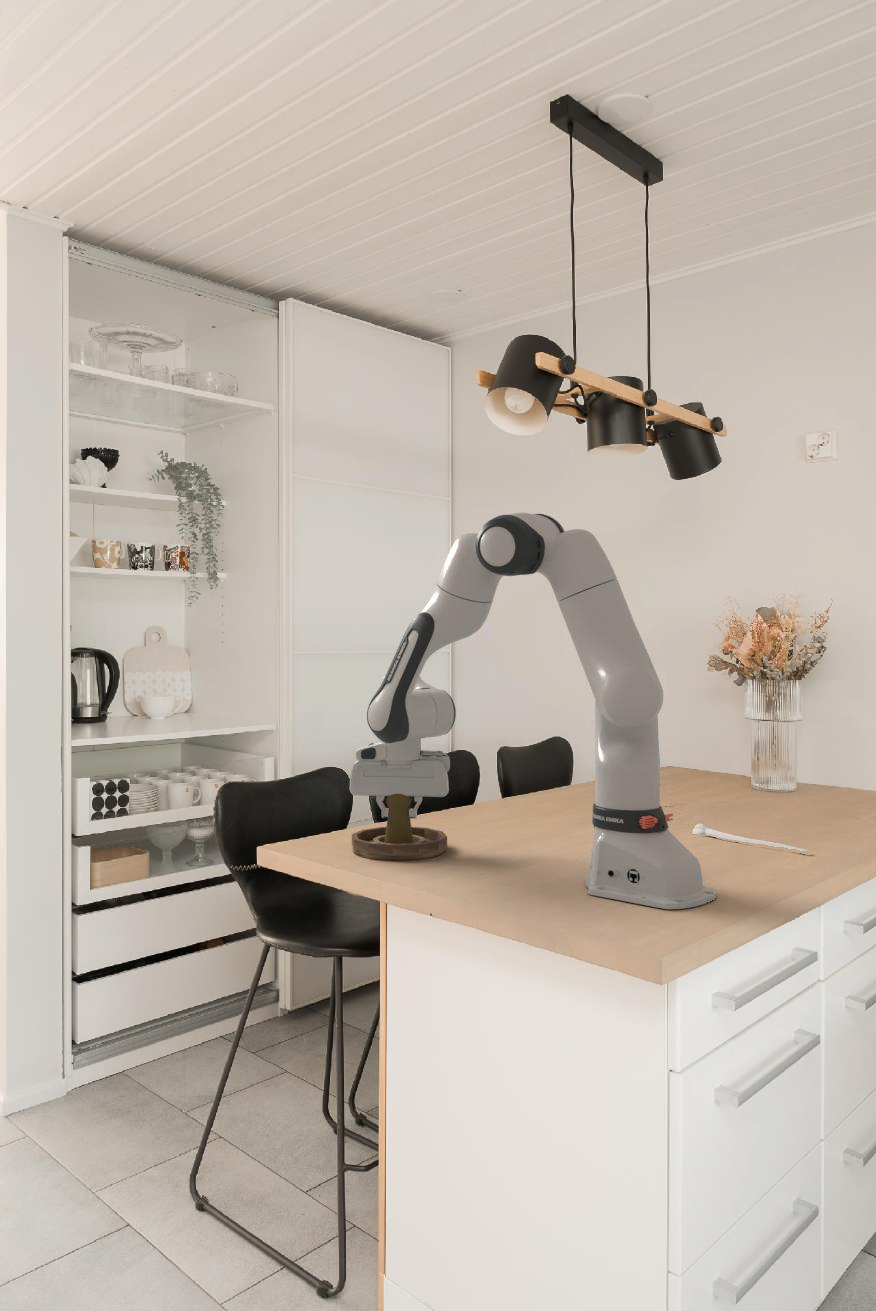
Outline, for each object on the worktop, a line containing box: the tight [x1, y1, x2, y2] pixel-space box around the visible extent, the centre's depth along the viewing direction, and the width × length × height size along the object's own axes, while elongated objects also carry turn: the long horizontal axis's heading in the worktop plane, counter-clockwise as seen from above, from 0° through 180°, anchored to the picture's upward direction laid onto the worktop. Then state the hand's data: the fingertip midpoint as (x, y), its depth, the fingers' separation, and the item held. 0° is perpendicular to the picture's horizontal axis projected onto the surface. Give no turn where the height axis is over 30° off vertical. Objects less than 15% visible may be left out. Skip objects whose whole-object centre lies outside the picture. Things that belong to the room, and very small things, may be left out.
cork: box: [384, 794, 413, 844], centre depth 192 cm, size 6×6×11 cm
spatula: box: [692, 823, 809, 851], centre depth 199 cm, size 28×4×3 cm, turn 41°
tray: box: [351, 826, 448, 862], centre depth 192 cm, size 19×19×3 cm
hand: (399, 817), depth 192 cm, fingers open, 4 cm apart
